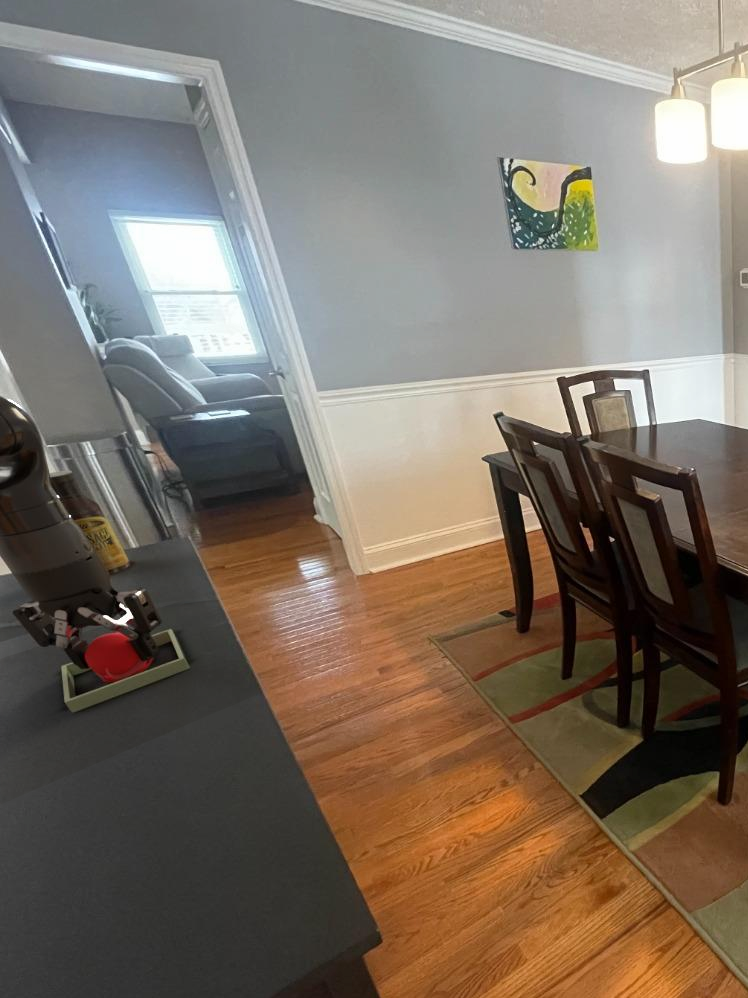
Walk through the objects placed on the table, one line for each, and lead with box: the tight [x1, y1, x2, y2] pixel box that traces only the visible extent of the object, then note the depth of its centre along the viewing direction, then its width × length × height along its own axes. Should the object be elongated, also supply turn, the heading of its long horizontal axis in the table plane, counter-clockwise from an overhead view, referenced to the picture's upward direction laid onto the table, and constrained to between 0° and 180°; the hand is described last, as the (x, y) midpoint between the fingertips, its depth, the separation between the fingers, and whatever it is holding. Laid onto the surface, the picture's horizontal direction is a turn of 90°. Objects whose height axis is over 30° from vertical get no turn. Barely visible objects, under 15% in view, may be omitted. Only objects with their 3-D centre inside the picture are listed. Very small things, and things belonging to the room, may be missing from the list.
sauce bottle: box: [49, 470, 131, 576], centre depth 109 cm, size 6×6×20 cm
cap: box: [84, 631, 154, 684], centre depth 83 cm, size 8×6×6 cm
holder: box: [60, 628, 191, 714], centre depth 84 cm, size 12×12×2 cm
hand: (120, 661), depth 84 cm, fingers closed on cap, 7 cm apart
